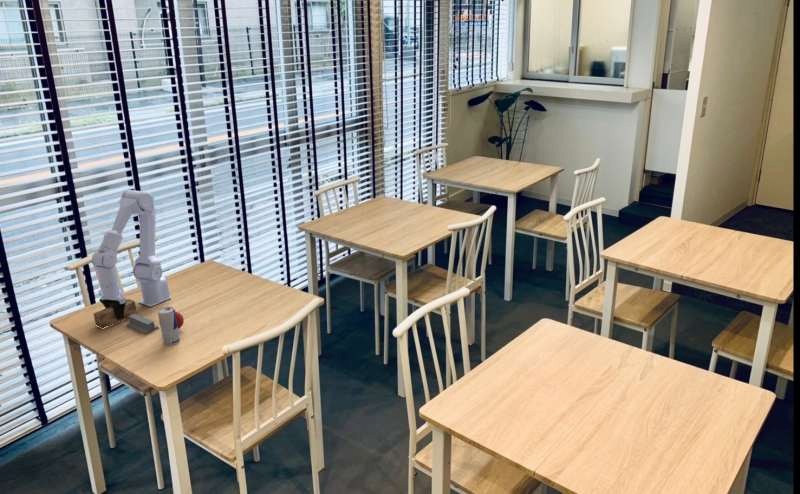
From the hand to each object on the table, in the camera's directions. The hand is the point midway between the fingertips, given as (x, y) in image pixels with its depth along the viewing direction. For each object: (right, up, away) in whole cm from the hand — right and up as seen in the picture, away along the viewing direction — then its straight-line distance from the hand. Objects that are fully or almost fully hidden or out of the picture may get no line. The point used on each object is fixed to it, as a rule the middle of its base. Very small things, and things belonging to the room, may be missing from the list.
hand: (116, 316), depth 231 cm
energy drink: (+26, -7, -17) cm, 32 cm away
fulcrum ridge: (+12, -3, -5) cm, 13 cm away
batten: (0, -2, +1) cm, 2 cm away
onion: (+25, -4, -9) cm, 27 cm away
